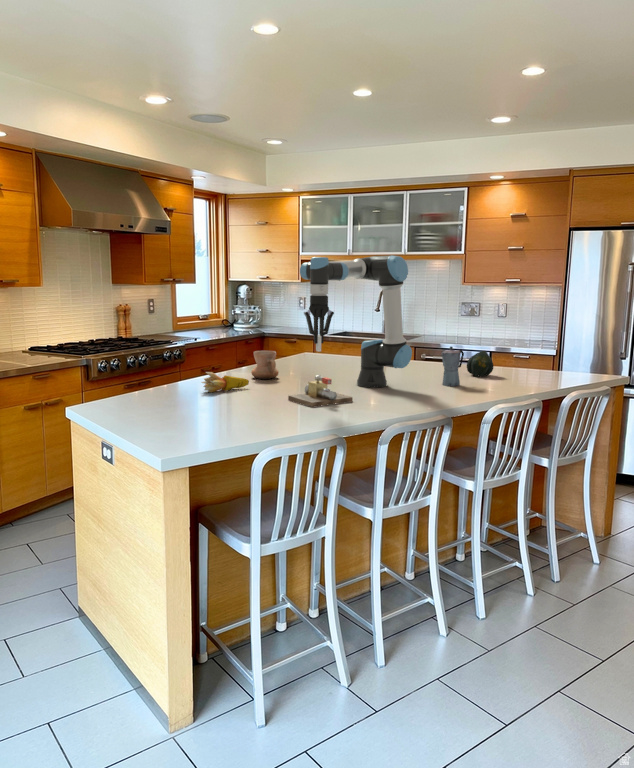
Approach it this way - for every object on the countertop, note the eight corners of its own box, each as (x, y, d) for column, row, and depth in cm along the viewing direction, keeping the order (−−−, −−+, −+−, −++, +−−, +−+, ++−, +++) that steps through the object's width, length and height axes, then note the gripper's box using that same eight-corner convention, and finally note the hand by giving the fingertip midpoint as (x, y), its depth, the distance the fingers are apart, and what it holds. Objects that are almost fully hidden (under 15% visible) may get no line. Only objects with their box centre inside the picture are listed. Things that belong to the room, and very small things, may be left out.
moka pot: (434, 384, 319) (435, 346, 315) (454, 382, 328) (456, 344, 324) (448, 387, 311) (450, 348, 308) (468, 384, 320) (470, 346, 317)
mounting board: (327, 394, 288) (327, 390, 287) (352, 401, 273) (352, 397, 273) (288, 399, 275) (288, 395, 274) (312, 407, 260) (312, 402, 260)
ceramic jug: (245, 376, 335) (245, 350, 332) (269, 374, 343) (269, 349, 340) (261, 382, 320) (261, 355, 317) (285, 379, 328) (285, 353, 325)
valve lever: (313, 380, 275) (314, 375, 274) (319, 379, 276) (319, 374, 275) (326, 384, 264) (326, 379, 263) (332, 384, 265) (332, 379, 265)
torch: (247, 395, 302) (202, 395, 286) (240, 386, 307) (196, 384, 291) (253, 382, 299) (208, 380, 282) (246, 372, 303) (201, 370, 287)
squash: (461, 367, 346) (480, 347, 341) (462, 364, 360) (481, 346, 355) (479, 385, 344) (499, 365, 339) (480, 381, 358) (499, 363, 354)
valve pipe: (313, 393, 283) (313, 377, 282) (338, 400, 268) (339, 384, 267) (302, 394, 280) (302, 378, 278) (327, 401, 264) (328, 385, 263)
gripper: (306, 295, 252) (306, 352, 256) (336, 295, 256) (336, 351, 260) (301, 294, 259) (301, 350, 263) (330, 294, 263) (330, 349, 267)
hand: (318, 351), depth 262 cm, fingers closed
